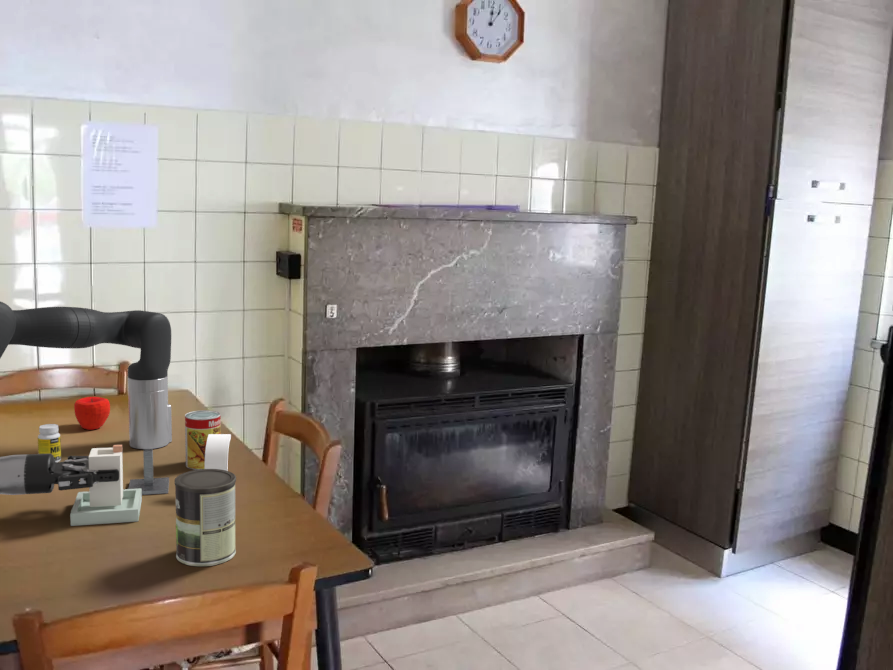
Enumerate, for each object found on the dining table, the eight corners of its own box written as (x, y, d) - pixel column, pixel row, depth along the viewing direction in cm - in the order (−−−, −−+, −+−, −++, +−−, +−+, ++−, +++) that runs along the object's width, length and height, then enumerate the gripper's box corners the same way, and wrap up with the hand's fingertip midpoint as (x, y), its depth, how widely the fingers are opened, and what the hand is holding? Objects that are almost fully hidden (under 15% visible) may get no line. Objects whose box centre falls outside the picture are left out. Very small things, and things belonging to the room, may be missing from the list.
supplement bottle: (52, 465, 196) (51, 429, 195) (34, 463, 197) (32, 427, 196) (65, 459, 201) (64, 424, 200) (47, 457, 202) (46, 422, 200)
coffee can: (169, 567, 147) (168, 488, 144) (182, 542, 157) (181, 468, 155) (231, 567, 148) (230, 488, 145) (240, 542, 158) (240, 468, 156)
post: (130, 483, 187) (129, 445, 185) (169, 480, 189) (168, 443, 187) (127, 495, 179) (126, 456, 178) (168, 493, 181) (167, 454, 180)
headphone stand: (231, 488, 186) (231, 434, 184) (227, 498, 180) (226, 442, 178) (209, 488, 185) (208, 434, 183) (204, 498, 179) (204, 442, 177)
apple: (118, 427, 228) (117, 398, 227) (88, 434, 221) (87, 404, 220) (96, 421, 233) (96, 393, 232) (67, 428, 226) (66, 399, 224)
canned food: (220, 469, 198) (220, 418, 196) (185, 470, 196) (184, 419, 194) (221, 458, 205) (220, 409, 203) (186, 460, 203) (185, 410, 201)
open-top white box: (93, 496, 171) (91, 442, 170) (124, 495, 173) (123, 441, 171) (89, 507, 166) (88, 450, 164) (121, 505, 168) (120, 449, 166)
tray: (78, 503, 174) (78, 492, 174) (141, 499, 177) (141, 488, 177) (70, 525, 163) (70, 513, 162) (138, 521, 166) (138, 509, 166)
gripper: (17, 467, 157) (116, 462, 162) (31, 444, 171) (122, 441, 175) (19, 506, 158) (117, 501, 163) (33, 480, 172) (123, 476, 177)
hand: (119, 470), depth 169 cm, fingers closed on open-top white box, 5 cm apart
